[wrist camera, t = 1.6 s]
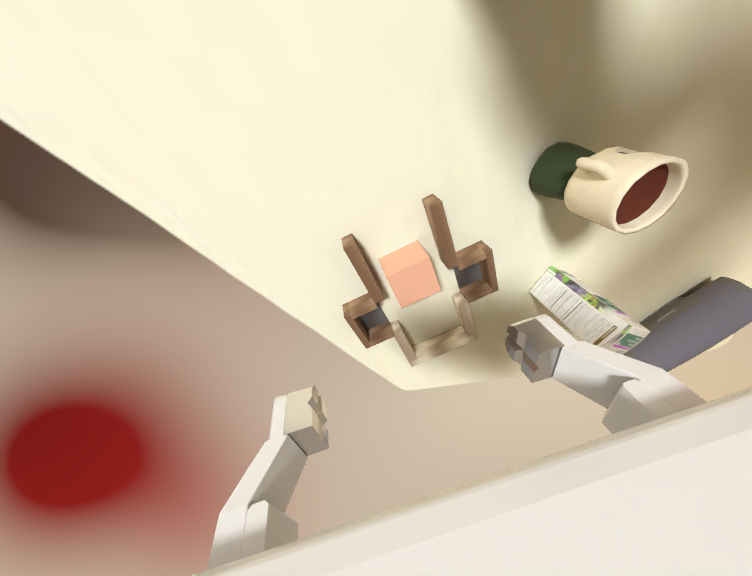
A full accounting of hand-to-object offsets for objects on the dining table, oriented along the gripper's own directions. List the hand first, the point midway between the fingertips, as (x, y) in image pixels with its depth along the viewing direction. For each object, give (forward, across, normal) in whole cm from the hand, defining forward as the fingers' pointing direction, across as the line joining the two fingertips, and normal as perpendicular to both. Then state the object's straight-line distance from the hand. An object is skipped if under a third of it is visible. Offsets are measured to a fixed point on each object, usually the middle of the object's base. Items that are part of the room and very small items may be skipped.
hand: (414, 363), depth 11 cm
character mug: (+26, -27, +4) cm, 37 cm away
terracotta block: (+26, -6, +12) cm, 29 cm away
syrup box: (+26, -31, +24) cm, 47 cm away
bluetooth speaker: (+26, -61, +44) cm, 80 cm away
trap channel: (+26, -7, +18) cm, 32 cm away
